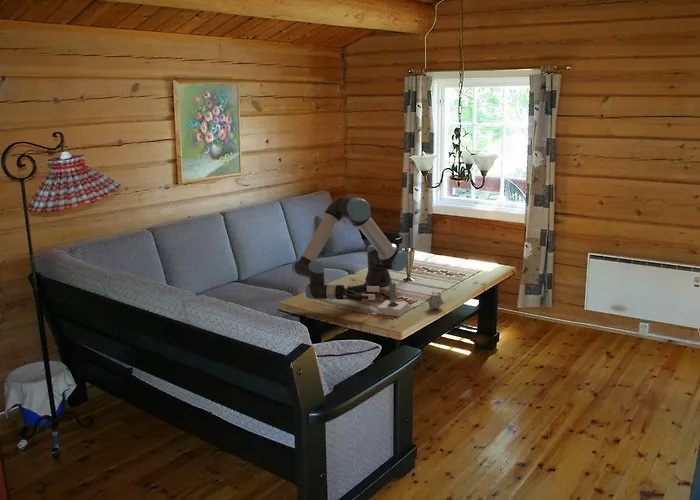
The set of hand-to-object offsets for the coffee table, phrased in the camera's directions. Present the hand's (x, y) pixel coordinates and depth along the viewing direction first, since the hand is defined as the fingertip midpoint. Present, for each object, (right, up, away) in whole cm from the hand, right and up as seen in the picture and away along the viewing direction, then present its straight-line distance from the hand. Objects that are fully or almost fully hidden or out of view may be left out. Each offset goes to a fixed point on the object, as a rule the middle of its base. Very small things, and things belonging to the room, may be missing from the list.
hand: (377, 293), depth 342 cm
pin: (+8, -9, +1) cm, 12 cm away
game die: (+30, -8, +2) cm, 31 cm away
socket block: (+8, -9, +1) cm, 12 cm away
